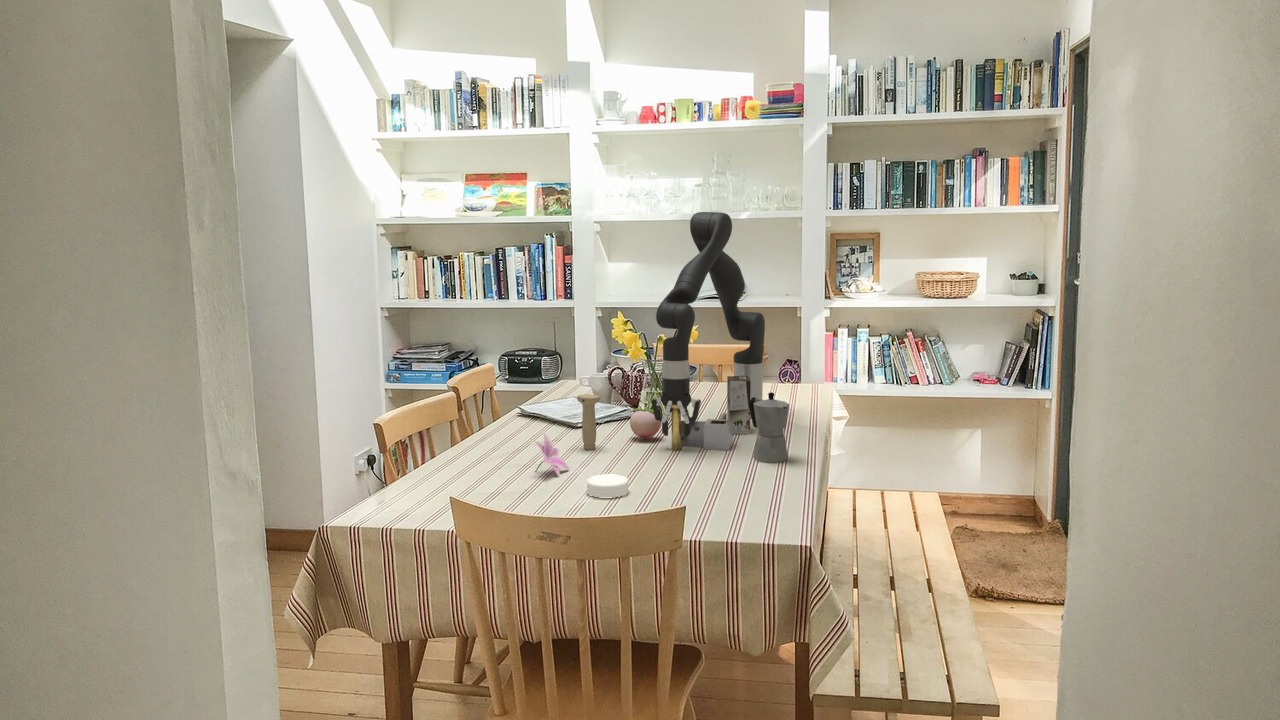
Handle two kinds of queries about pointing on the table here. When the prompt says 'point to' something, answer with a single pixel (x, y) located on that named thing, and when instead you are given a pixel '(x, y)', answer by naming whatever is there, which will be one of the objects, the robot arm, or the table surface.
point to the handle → (588, 419)
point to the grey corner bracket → (709, 433)
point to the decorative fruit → (644, 423)
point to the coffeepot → (769, 428)
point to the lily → (551, 455)
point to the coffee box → (739, 403)
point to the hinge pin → (676, 427)
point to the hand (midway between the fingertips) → (676, 435)
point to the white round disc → (607, 485)
